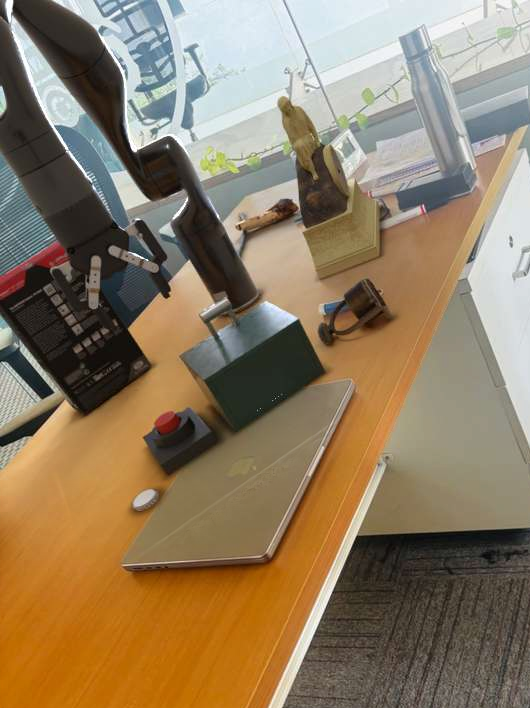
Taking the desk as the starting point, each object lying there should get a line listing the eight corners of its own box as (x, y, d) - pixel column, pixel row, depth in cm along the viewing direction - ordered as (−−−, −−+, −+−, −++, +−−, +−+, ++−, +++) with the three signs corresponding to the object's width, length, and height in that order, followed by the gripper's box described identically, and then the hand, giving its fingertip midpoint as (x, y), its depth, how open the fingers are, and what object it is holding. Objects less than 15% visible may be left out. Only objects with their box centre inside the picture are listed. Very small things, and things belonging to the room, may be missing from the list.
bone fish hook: (304, 204, 182) (245, 226, 187) (297, 187, 179) (237, 209, 184) (298, 217, 175) (236, 238, 180) (290, 198, 172) (228, 221, 177)
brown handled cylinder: (377, 305, 105) (384, 262, 111) (301, 318, 109) (311, 277, 115) (391, 339, 111) (397, 297, 116) (318, 350, 115) (327, 309, 120)
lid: (181, 359, 110) (162, 331, 106) (268, 304, 113) (252, 275, 109) (206, 384, 99) (186, 353, 96) (301, 323, 102) (285, 290, 99)
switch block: (150, 447, 112) (135, 428, 110) (196, 416, 114) (183, 397, 111) (168, 476, 103) (153, 456, 100) (218, 442, 104) (205, 422, 102)
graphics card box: (141, 360, 142) (56, 237, 126) (156, 365, 137) (69, 237, 121) (74, 411, 136) (-25, 288, 119) (87, 417, 131) (-15, 291, 114)
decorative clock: (379, 256, 134) (315, 93, 116) (319, 279, 138) (247, 124, 119) (379, 207, 156) (325, 63, 137) (327, 228, 159) (267, 90, 140)
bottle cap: (146, 490, 102) (144, 487, 101) (163, 492, 99) (161, 489, 99) (129, 509, 100) (126, 506, 99) (146, 512, 97) (143, 509, 97)
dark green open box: (211, 405, 114) (183, 361, 109) (294, 351, 118) (270, 306, 112) (236, 431, 105) (206, 384, 99) (325, 372, 108) (301, 323, 102)
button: (157, 429, 107) (151, 421, 106) (177, 417, 108) (171, 408, 107) (163, 437, 104) (157, 429, 103) (183, 424, 105) (177, 415, 104)
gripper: (110, 171, 90) (177, 282, 100) (13, 225, 87) (91, 334, 97) (122, 173, 84) (191, 291, 94) (18, 231, 82) (101, 346, 91)
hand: (141, 313), depth 96 cm, fingers open, 8 cm apart
